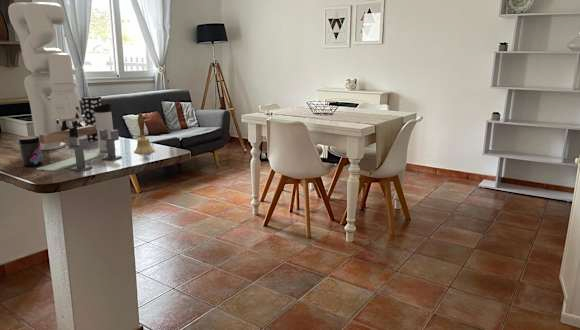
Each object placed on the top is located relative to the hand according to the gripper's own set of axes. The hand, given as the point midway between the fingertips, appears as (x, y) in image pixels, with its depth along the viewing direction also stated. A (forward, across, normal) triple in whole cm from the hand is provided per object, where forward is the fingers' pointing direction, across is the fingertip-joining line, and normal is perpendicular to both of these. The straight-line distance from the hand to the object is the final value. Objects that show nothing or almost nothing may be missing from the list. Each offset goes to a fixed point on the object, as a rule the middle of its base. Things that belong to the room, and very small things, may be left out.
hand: (70, 137), depth 163 cm
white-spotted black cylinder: (+9, -24, +40) cm, 48 cm away
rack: (+10, +11, 0) cm, 14 cm away
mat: (+9, 0, 0) cm, 9 cm away
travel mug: (+10, 0, +19) cm, 21 cm away
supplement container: (+10, -11, -8) cm, 17 cm away
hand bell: (+10, +15, +23) cm, 29 cm away
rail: (0, 0, 0) cm, 0 cm away
